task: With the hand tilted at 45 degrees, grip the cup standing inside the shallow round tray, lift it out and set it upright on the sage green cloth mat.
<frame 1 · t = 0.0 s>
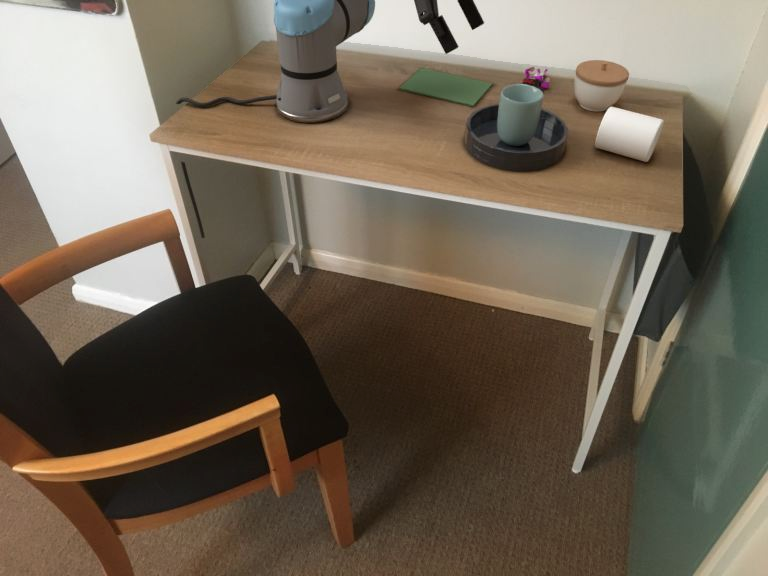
hand: (465, 38, 120), 15 cm above the table, tool tilted 35°, fingers open, 13 cm apart
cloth: (446, 87, 139), on the table
shallow round tray: (513, 144, 120), on the table
trinket box: (593, 105, 132), on the table
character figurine: (535, 86, 139), on the table
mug: (625, 148, 119), on the table
cup: (514, 141, 120), point 1 cm above the table, touching shallow round tray
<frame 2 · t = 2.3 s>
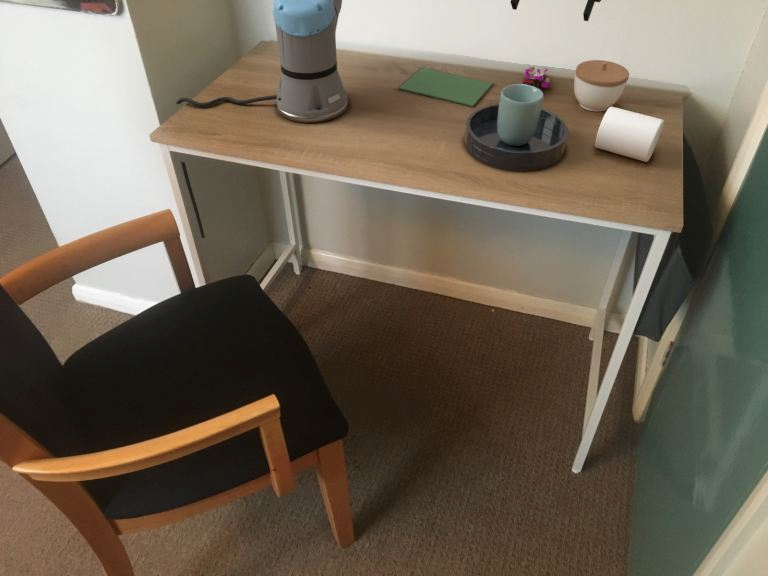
hand: (548, 11, 112), 22 cm above the table, tool tilted 45°, fingers open, 13 cm apart
nothing on the table moved.
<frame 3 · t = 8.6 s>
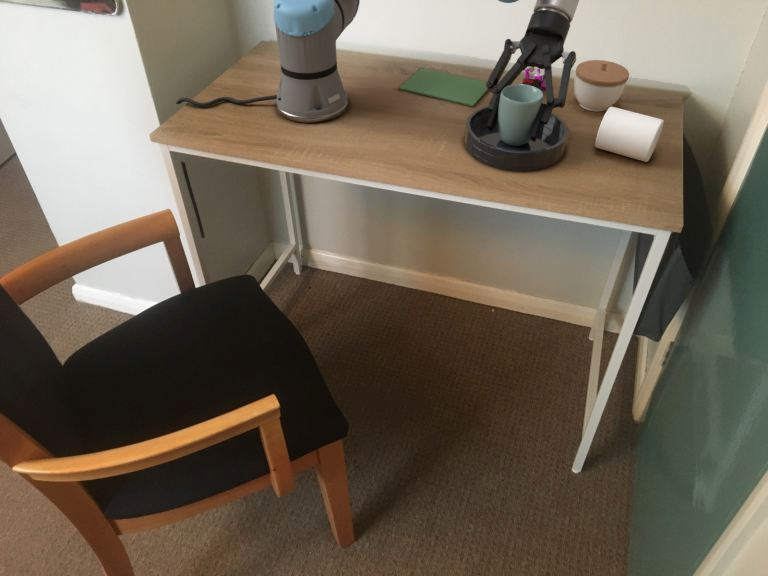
hand: (511, 133, 115), 4 cm above the table, tool tilted 45°, fingers closed on cup, 8 cm apart
cup: (514, 141, 120), point 1 cm above the table, touching gripper, shallow round tray
everything else where it was.
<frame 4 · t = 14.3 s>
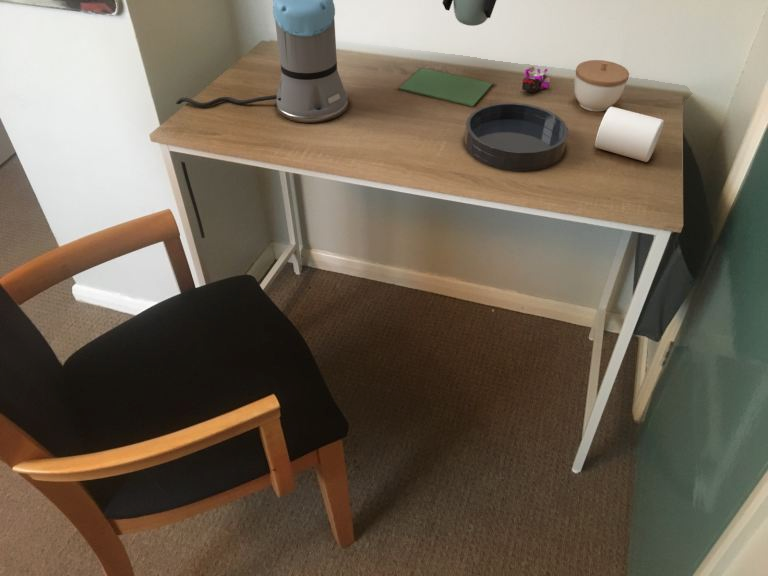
hand: (466, 10, 117), 21 cm above the table, tool tilted 45°, fingers closed on cup, 8 cm apart
cup: (471, 23, 121), point 17 cm above the table, touching gripper
everything else where it was.
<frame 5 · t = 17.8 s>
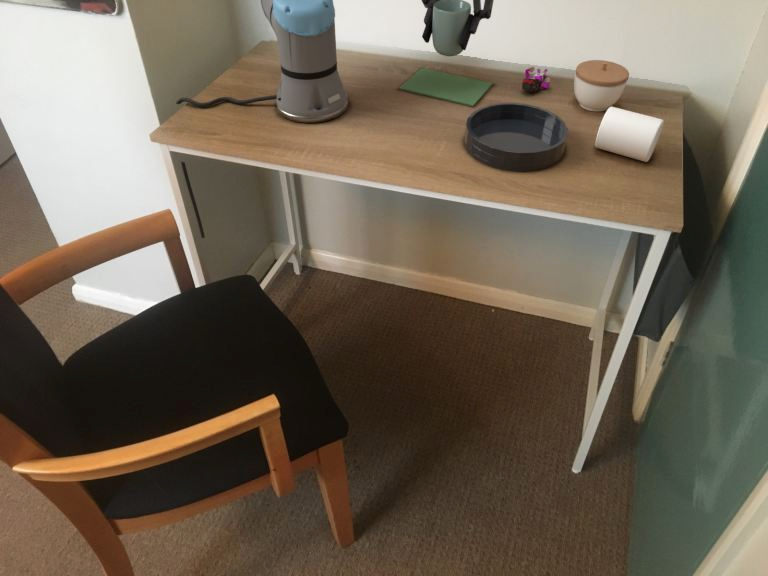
hand: (443, 43, 129), 11 cm above the table, tool tilted 45°, fingers closed on cup, 8 cm apart
cup: (448, 53, 133), point 8 cm above the table, touching gripper
everything else where it was.
when the fingers open (4 cm above the table, at t = 20.3 s): cup stays where it is, resting on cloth.
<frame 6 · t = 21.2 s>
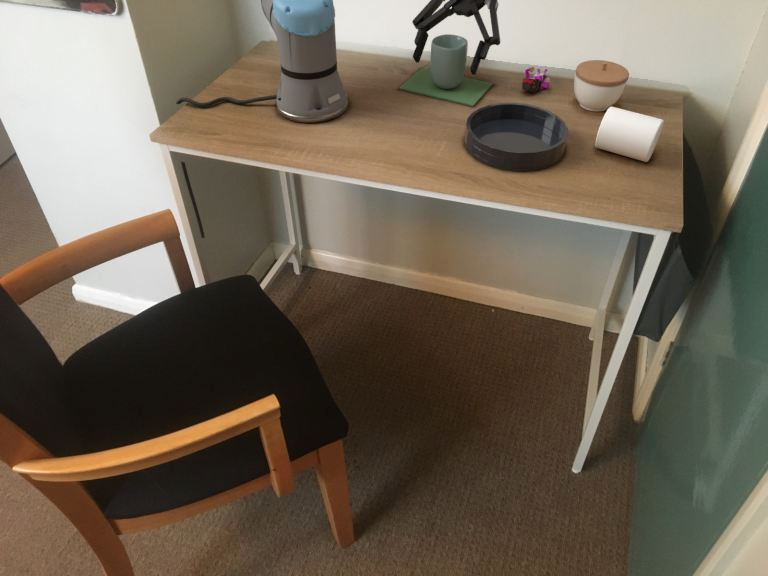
hand: (443, 66, 133), 6 cm above the table, tool tilted 45°, fingers open, 13 cm apart
cup: (446, 86, 138), resting on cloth
everything else where it was.
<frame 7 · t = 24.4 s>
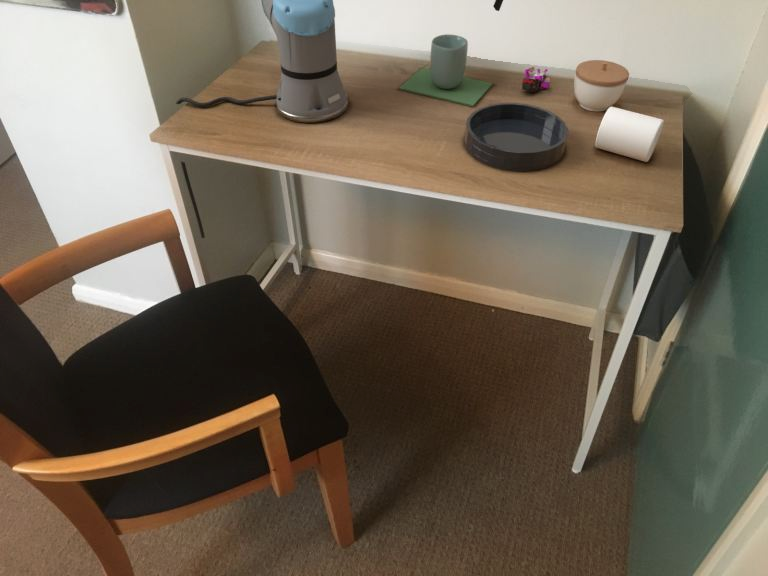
nothing on the table moved.
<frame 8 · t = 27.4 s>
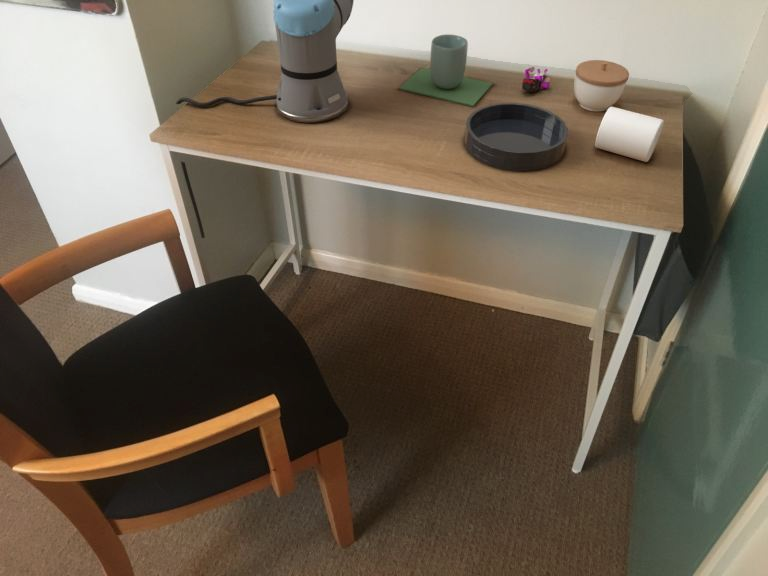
nothing on the table moved.
at the end: cup inside the target area on the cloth (0.1 cm from its centre), point 0.2 cm above the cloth's base; cup tilted 0°; the gripper is holding nothing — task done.
